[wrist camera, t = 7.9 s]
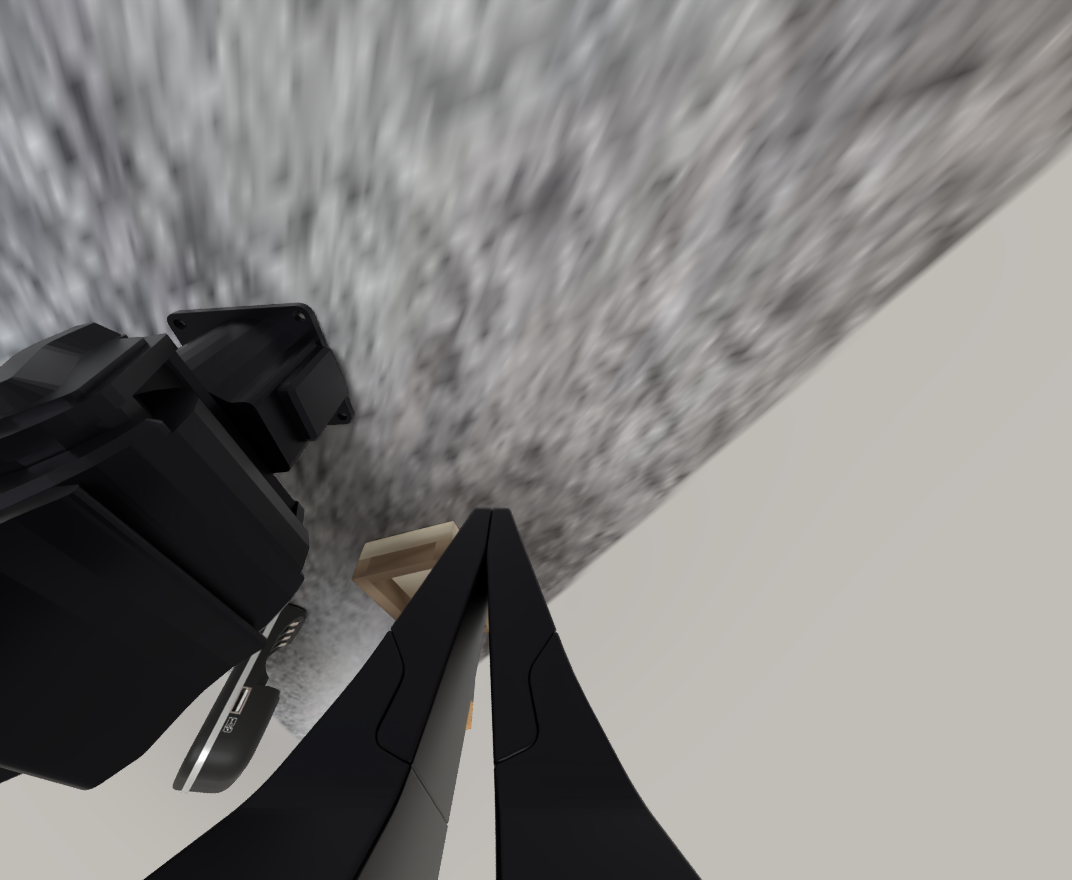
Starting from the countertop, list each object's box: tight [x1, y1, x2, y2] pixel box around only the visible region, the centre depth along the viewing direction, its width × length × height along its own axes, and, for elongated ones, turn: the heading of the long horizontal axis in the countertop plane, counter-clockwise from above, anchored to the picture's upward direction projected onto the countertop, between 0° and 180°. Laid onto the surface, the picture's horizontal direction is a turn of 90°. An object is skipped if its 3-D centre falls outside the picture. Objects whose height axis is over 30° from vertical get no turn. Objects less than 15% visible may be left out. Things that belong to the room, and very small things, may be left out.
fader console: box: [351, 521, 489, 633], centre depth 30 cm, size 10×7×3 cm
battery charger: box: [173, 604, 306, 793], centre depth 30 cm, size 7×4×11 cm, turn 146°
